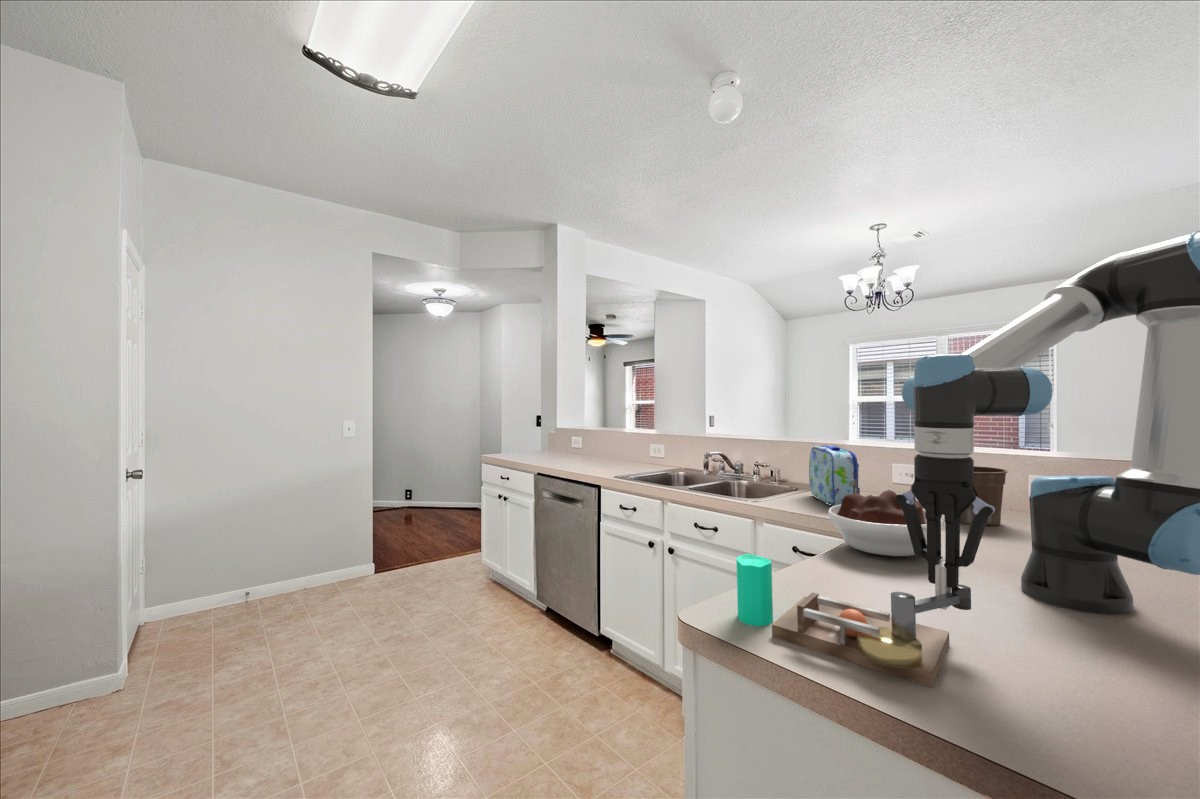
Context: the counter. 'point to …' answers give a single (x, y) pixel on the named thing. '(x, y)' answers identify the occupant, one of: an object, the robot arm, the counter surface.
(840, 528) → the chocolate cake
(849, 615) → the ball
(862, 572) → the counter surface
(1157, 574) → the counter surface
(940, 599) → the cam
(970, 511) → the plant pot
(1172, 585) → the counter surface
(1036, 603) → the counter surface
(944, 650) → the stand
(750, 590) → the candle
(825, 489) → the lunch box
